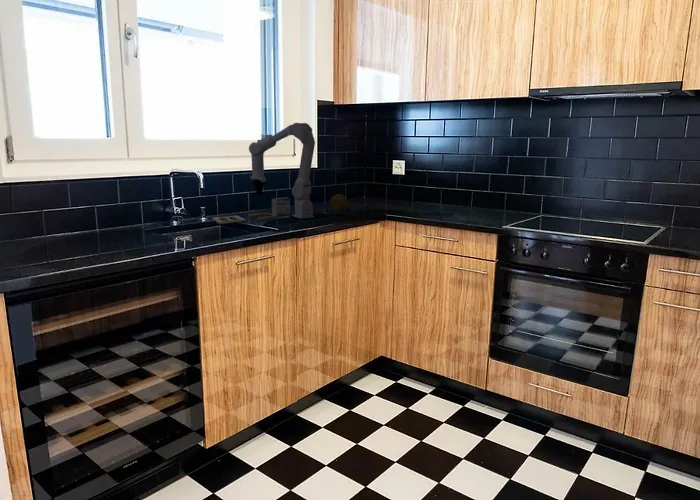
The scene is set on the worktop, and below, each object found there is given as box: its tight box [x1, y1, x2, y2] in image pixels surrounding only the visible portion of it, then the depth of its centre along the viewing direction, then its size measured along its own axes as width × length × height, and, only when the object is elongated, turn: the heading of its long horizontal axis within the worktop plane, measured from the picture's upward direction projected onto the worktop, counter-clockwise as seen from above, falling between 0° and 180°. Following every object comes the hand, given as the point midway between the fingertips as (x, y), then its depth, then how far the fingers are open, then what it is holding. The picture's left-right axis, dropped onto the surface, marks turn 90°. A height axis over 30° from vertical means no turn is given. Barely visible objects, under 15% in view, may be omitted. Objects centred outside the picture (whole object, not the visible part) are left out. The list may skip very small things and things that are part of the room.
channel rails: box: [248, 211, 279, 221], centre depth 239 cm, size 13×10×1 cm
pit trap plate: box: [211, 215, 247, 225], centre depth 231 cm, size 13×12×1 cm
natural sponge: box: [329, 193, 350, 215], centre depth 247 cm, size 9×9×10 cm
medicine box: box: [271, 197, 291, 217], centre depth 243 cm, size 8×4×9 cm, turn 128°
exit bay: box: [268, 213, 291, 219], centre depth 244 cm, size 13×6×1 cm, turn 31°
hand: (259, 195), depth 247 cm, fingers closed
